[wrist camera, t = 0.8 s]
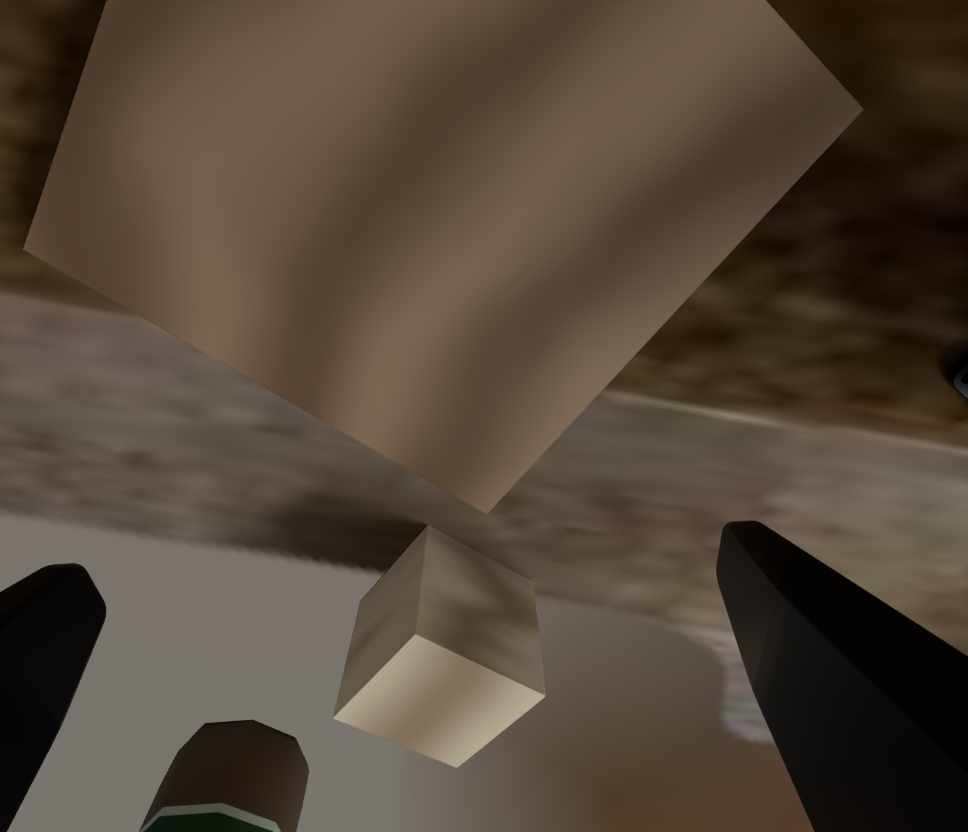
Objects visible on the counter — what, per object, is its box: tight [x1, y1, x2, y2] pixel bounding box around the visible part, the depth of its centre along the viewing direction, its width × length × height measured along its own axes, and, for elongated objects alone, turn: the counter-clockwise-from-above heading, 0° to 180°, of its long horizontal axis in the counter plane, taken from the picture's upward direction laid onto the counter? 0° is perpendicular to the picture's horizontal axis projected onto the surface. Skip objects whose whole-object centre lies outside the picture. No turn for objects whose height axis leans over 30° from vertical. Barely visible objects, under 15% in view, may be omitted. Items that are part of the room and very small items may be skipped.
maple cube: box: [333, 525, 546, 768], centre depth 25 cm, size 6×6×6 cm
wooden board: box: [23, 0, 864, 514], centre depth 17 cm, size 18×18×2 cm
